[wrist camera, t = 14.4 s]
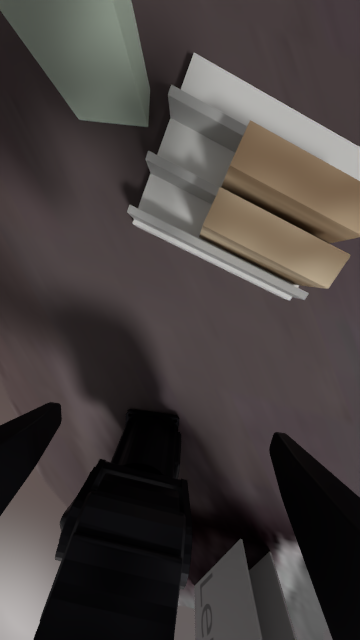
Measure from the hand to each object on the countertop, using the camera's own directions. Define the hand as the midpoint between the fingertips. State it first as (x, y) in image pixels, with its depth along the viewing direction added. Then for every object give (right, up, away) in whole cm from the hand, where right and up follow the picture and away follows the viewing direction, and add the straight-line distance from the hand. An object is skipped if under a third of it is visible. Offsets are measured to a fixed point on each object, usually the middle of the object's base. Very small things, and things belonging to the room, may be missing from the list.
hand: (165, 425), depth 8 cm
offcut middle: (+9, +14, +8) cm, 19 cm away
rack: (+6, +16, +9) cm, 19 cm away
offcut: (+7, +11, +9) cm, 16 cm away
